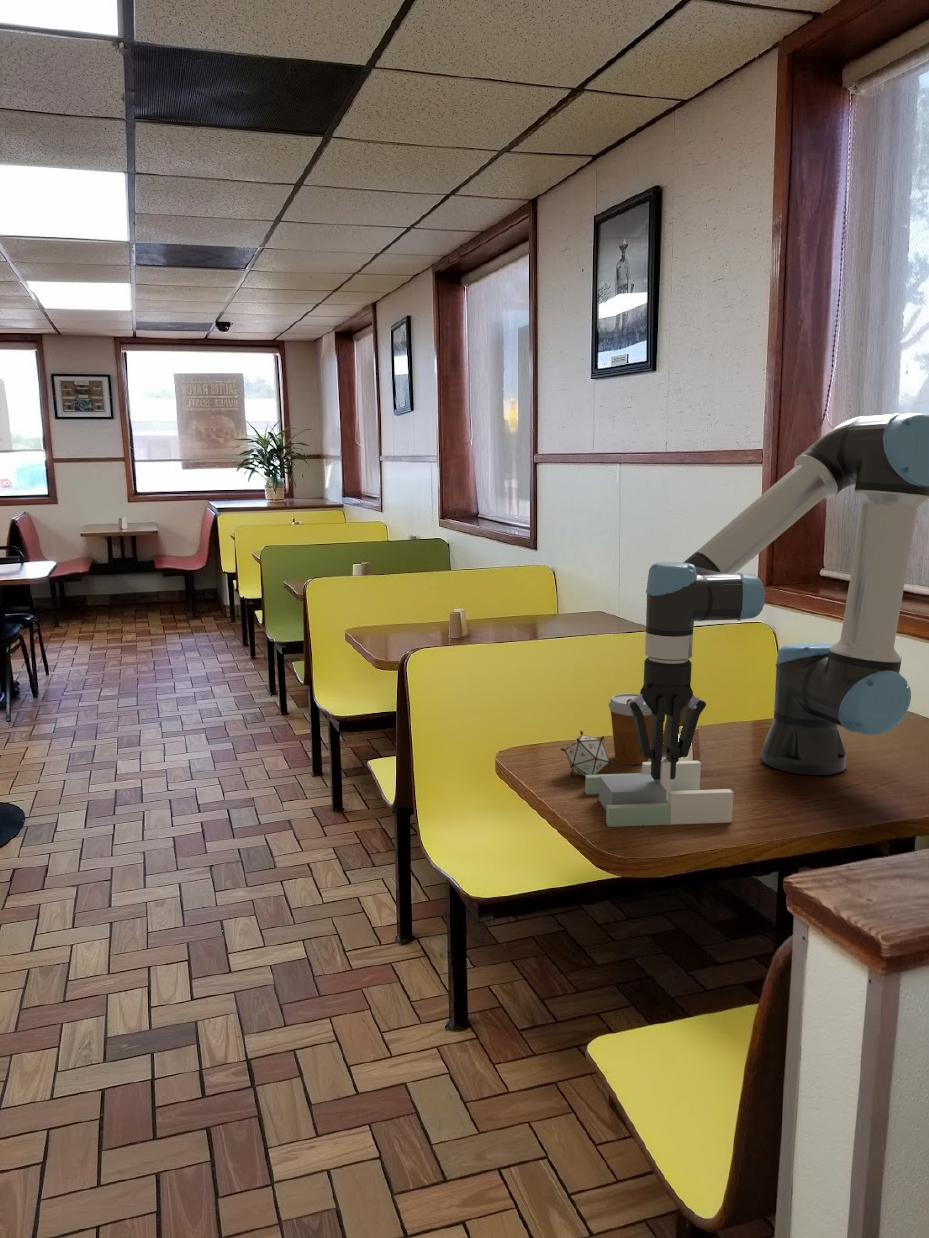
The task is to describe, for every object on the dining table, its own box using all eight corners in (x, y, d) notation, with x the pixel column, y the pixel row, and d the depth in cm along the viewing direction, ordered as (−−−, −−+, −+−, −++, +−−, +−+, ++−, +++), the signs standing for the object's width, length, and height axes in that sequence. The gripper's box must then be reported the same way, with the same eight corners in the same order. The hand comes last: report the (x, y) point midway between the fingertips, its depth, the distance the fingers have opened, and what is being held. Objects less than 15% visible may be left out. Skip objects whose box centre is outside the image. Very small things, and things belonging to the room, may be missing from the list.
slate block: (650, 799, 158) (651, 774, 158) (665, 817, 151) (666, 790, 150) (598, 801, 158) (599, 775, 157) (611, 818, 150) (611, 792, 149)
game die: (583, 800, 168) (563, 765, 162) (567, 770, 175) (547, 735, 169) (626, 776, 168) (608, 740, 162) (609, 747, 175) (590, 711, 169)
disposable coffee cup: (596, 758, 179) (598, 698, 178) (627, 749, 186) (629, 690, 184) (635, 771, 172) (638, 708, 170) (667, 760, 179) (669, 699, 177)
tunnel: (696, 787, 164) (698, 760, 163) (731, 822, 148) (733, 792, 147) (584, 791, 162) (585, 763, 161) (608, 826, 146) (609, 796, 145)
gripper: (698, 653, 155) (692, 788, 159) (622, 654, 154) (617, 790, 158) (715, 662, 148) (708, 804, 152) (635, 663, 146) (630, 807, 150)
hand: (662, 797), depth 155 cm, fingers closed
